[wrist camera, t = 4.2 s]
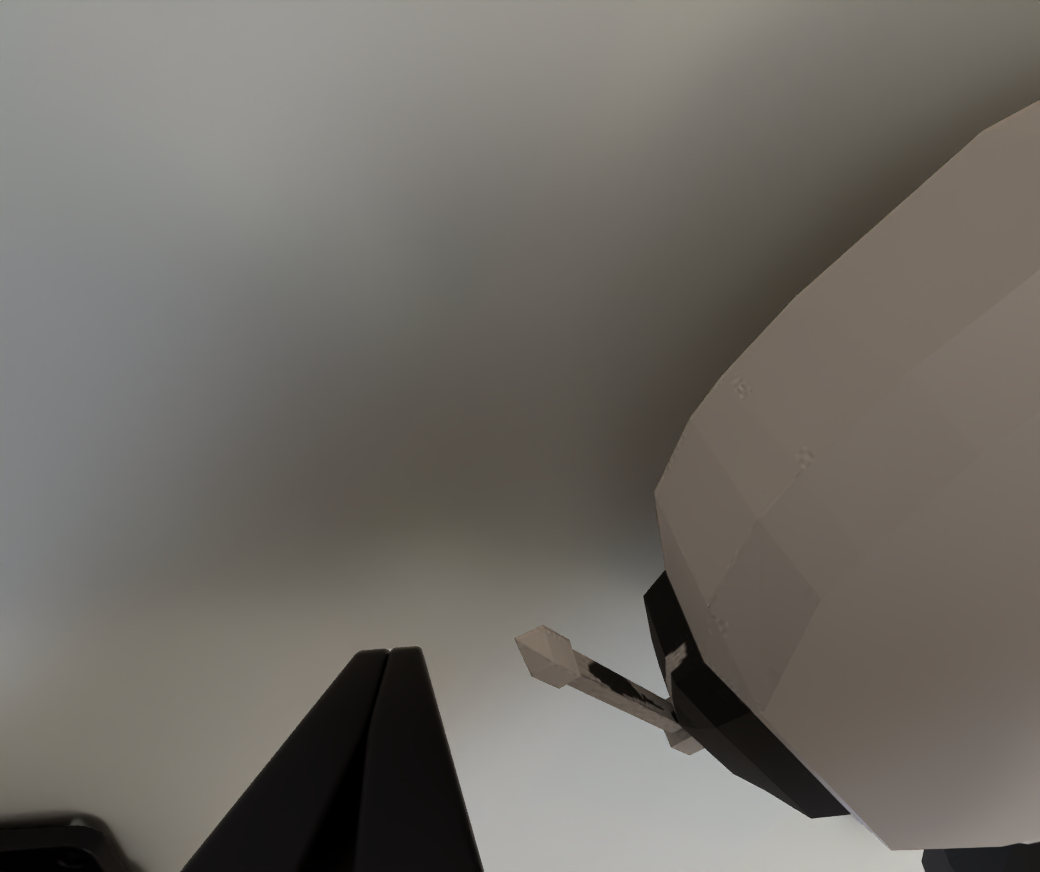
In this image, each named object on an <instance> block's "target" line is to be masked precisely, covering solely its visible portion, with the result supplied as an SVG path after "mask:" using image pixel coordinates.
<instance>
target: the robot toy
mask: <svg viewBox="0 0 1040 872" xmlns="http://www.w3.org/2000/svg"><path fill="white" fill-rule="evenodd" d="M654 496H655V503H656V510H657V517H658V523H659V530H660V537H661V543H662V550H663V557H664V563H665V571H664V572H663V573H662V574H661V575H660V577H659V578H658V579H657V580H656V582H655V583H654V584H653V585H652V586H651V588H650V589H649V590H648V591H647V592H646V594H645V595H644V596H643V597H644V602H645V607H646V612H647V618H648V623H649V628H650V633H651V638H652V642H653V646H654V649H655V653H656V657H657V660H658V664H659V667H660V669H661V672H662V675H663V678H664V681H665V684H666V687H667V690H668V693H669V696H670V697H669V698H668V699H666V700H665V699H663V698H661V697H659V696H657V695H655V694H654V693H652V692H650V691H648V690H646V689H644V688H643V687H641V686H639V685H637V684H635V683H633V682H632V681H630V680H628V679H626V678H624V677H622V676H621V675H619V674H617V673H615V672H613V671H611V670H610V669H608V668H606V667H604V666H602V665H600V664H599V663H597V662H595V661H593V660H591V659H589V658H588V657H586V656H584V655H582V654H580V653H579V652H577V651H575V650H573V649H572V647H571V644H570V641H569V639H567V638H565V637H563V636H561V635H560V634H558V633H556V632H554V631H552V630H551V629H549V628H547V627H545V626H544V625H542V626H540V627H538V628H536V629H534V630H531V631H529V632H527V633H525V634H523V635H521V636H519V637H517V638H514V639H515V641H516V643H517V645H518V648H519V650H520V652H521V654H522V656H523V659H524V661H525V663H526V665H527V667H528V670H529V672H530V674H531V676H532V677H535V678H537V679H539V680H541V681H543V682H546V683H548V684H550V685H552V686H554V687H557V688H561V687H563V686H565V685H566V684H567V685H569V686H571V687H574V688H576V689H578V690H580V691H582V692H584V693H586V694H588V695H591V696H593V697H595V698H597V699H599V700H601V701H603V702H606V703H608V704H610V705H612V706H614V707H616V708H618V709H620V710H623V711H625V712H627V713H629V714H631V715H633V716H635V717H638V718H640V719H642V720H644V721H646V722H648V723H650V724H652V725H655V726H657V727H659V728H661V729H663V730H664V732H665V734H666V736H667V739H668V741H669V744H670V746H671V747H672V748H674V749H676V750H679V751H681V752H683V753H686V754H688V755H691V754H693V753H695V752H697V751H699V750H701V749H703V748H705V749H706V750H707V751H709V752H710V753H711V754H712V755H713V756H714V757H715V758H716V759H717V760H719V761H720V762H721V763H722V764H723V765H724V766H725V767H726V768H727V769H728V770H730V771H731V772H732V773H733V774H735V775H737V776H739V777H741V778H742V779H744V780H746V781H748V782H750V783H752V784H754V785H756V786H758V787H760V788H762V789H764V790H765V791H767V792H769V793H770V794H772V795H774V796H775V797H777V798H779V799H780V800H782V801H783V802H785V803H787V804H788V805H790V806H792V807H793V808H795V809H797V810H798V811H800V812H801V813H803V814H805V815H806V816H808V817H810V818H811V819H812V818H821V817H830V816H839V815H848V814H852V815H853V816H854V817H855V818H856V819H857V820H858V821H859V822H860V823H862V824H863V825H864V826H865V827H866V828H867V829H868V830H869V831H870V832H872V833H873V834H874V835H875V836H876V837H877V838H878V839H879V840H880V841H882V842H883V843H884V844H885V845H886V846H887V847H888V848H889V849H890V850H918V849H924V853H923V857H922V864H923V867H924V870H925V872H1040V100H1038V101H1036V102H1034V103H1033V104H1031V105H1029V106H1027V107H1025V108H1023V109H1022V110H1020V111H1018V112H1016V113H1014V114H1012V115H1010V116H1009V117H1007V118H1005V119H1003V120H1001V121H999V122H997V123H996V124H994V125H992V126H990V127H988V128H986V129H985V130H983V131H982V132H980V133H979V134H978V135H977V136H976V137H975V138H974V139H973V140H971V141H970V142H969V143H968V144H967V145H966V146H965V147H964V148H962V149H961V150H960V151H959V152H958V153H957V154H956V155H954V156H953V157H952V158H951V159H950V160H949V161H948V162H947V163H945V164H944V165H943V166H942V167H941V168H940V169H939V170H938V171H936V172H935V173H934V174H933V175H932V176H931V177H930V178H929V179H927V180H926V181H925V182H924V183H923V184H922V185H921V186H919V187H918V188H917V189H916V190H915V191H914V192H913V193H912V194H910V195H909V196H908V197H907V198H906V199H905V200H904V201H903V202H901V203H900V204H899V205H898V206H897V207H896V208H895V209H894V210H892V211H891V212H890V213H889V214H888V215H887V216H886V217H885V218H883V219H882V220H881V221H880V222H879V223H878V224H877V225H875V226H874V227H873V228H872V229H871V230H870V231H869V232H868V233H866V234H865V235H864V236H863V237H862V238H861V239H860V240H859V241H857V242H856V243H855V244H854V245H853V246H852V247H851V248H850V249H848V250H847V251H846V252H845V253H844V254H843V255H842V256H841V257H839V258H838V259H837V260H836V261H835V262H834V263H833V264H831V265H830V266H829V267H828V268H827V269H826V270H825V271H824V272H822V273H821V274H820V275H819V276H818V277H817V278H816V279H815V280H813V281H812V282H811V283H810V284H809V285H808V286H807V287H806V288H804V289H803V290H802V291H801V292H800V293H799V294H798V295H797V296H795V297H794V298H793V300H792V301H791V302H790V303H789V304H788V305H787V306H786V307H785V308H784V309H783V310H782V311H781V312H780V313H779V315H778V316H777V317H776V318H775V319H774V320H773V321H772V322H771V323H770V324H769V325H768V326H767V327H766V329H765V330H764V331H763V332H762V333H761V334H760V335H759V336H758V337H757V338H756V339H755V340H754V341H753V342H752V344H751V345H750V346H749V347H748V348H747V349H746V350H745V351H744V352H743V353H742V354H741V355H740V356H739V358H738V359H737V360H736V361H735V362H734V363H733V364H732V365H731V366H730V367H729V368H728V369H727V370H726V371H725V373H724V374H723V375H722V376H721V377H720V378H719V380H718V381H717V382H716V384H715V385H714V386H713V388H712V389H711V390H710V392H709V393H708V394H707V396H706V397H705V398H704V400H703V401H702V402H701V404H700V405H699V406H698V408H697V409H696V410H695V412H694V413H693V414H692V416H691V417H690V418H689V420H688V422H687V425H686V427H685V429H684V431H683V433H682V435H681V437H680V439H679V441H678V443H677V445H676V448H675V450H674V452H673V454H672V456H671V458H670V460H669V462H668V464H667V466H666V468H665V471H664V473H663V475H662V477H661V479H660V481H659V483H658V485H657V487H656V489H655V491H654Z"/></svg>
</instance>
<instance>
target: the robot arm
mask: <svg viewBox="0 0 1040 872" xmlns="http://www.w3.org/2000/svg"><path fill="white" fill-rule="evenodd" d="M0 872H127V870H126V868H125V867H124V865H123V863H122V862H121V860H120V858H119V857H118V855H117V853H116V852H115V850H114V849H113V847H112V845H111V844H110V842H109V840H108V839H107V837H106V836H105V835H104V834H103V833H102V832H100V831H98V830H96V829H94V828H90V827H87V826H77V825H72V826H59V827H46V828H33V829H21V830H8V831H0ZM180 872H484V869H483V866H482V862H481V859H480V855H479V851H478V848H477V844H476V841H475V837H474V834H473V830H472V826H471V823H470V819H469V816H468V812H467V809H466V805H465V801H464V798H463V794H462V791H461V787H460V784H459V780H458V776H457V773H456V769H455V766H454V762H453V759H452V755H451V751H450V748H449V744H448V741H447V737H446V734H445V730H444V726H443V723H442V719H441V716H440V712H439V709H438V705H437V701H436V698H435V694H434V691H433V687H432V684H431V680H430V676H429V673H428V669H427V666H426V662H425V658H424V655H423V652H422V649H421V648H420V647H418V646H412V647H399V648H393V649H392V650H391V651H389V650H387V649H373V650H362V651H359V652H358V653H356V654H355V655H354V657H353V658H352V659H351V660H350V662H349V663H348V664H347V665H346V667H345V668H344V669H343V670H342V671H341V673H340V674H339V675H338V676H337V678H336V679H335V680H334V681H333V683H332V684H331V685H330V686H329V688H328V689H327V690H326V691H325V693H324V694H323V695H322V696H321V698H320V699H319V700H318V701H317V703H316V704H315V705H314V706H313V707H312V709H311V710H310V711H309V712H308V714H307V715H306V716H305V717H304V719H303V720H302V721H301V722H300V724H299V725H298V726H297V727H296V729H295V730H294V731H293V732H292V734H291V735H290V736H289V737H288V739H287V740H286V741H285V742H284V743H283V745H282V746H281V747H280V748H279V750H278V751H277V752H276V753H275V755H274V756H273V757H272V758H271V760H270V761H269V762H268V763H267V765H266V766H265V767H264V768H263V770H262V771H261V772H260V773H259V775H258V776H257V777H256V778H255V779H254V781H253V782H252V783H251V784H250V786H249V787H248V788H247V789H246V791H245V792H244V793H243V794H242V796H241V797H240V798H239V799H238V801H237V802H236V803H235V804H234V806H233V807H232V808H231V809H230V811H229V812H228V813H227V814H226V815H225V817H224V818H223V819H222V820H221V822H220V823H219V824H218V825H217V827H216V828H215V829H214V830H213V832H212V833H211V834H210V835H209V837H208V838H207V839H206V840H205V842H204V843H203V844H202V845H201V847H200V848H199V849H198V850H197V851H196V853H195V854H194V855H193V856H192V858H191V859H190V860H189V861H188V863H187V864H186V865H185V866H184V868H183V869H182V870H181V871H180Z"/></svg>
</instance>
